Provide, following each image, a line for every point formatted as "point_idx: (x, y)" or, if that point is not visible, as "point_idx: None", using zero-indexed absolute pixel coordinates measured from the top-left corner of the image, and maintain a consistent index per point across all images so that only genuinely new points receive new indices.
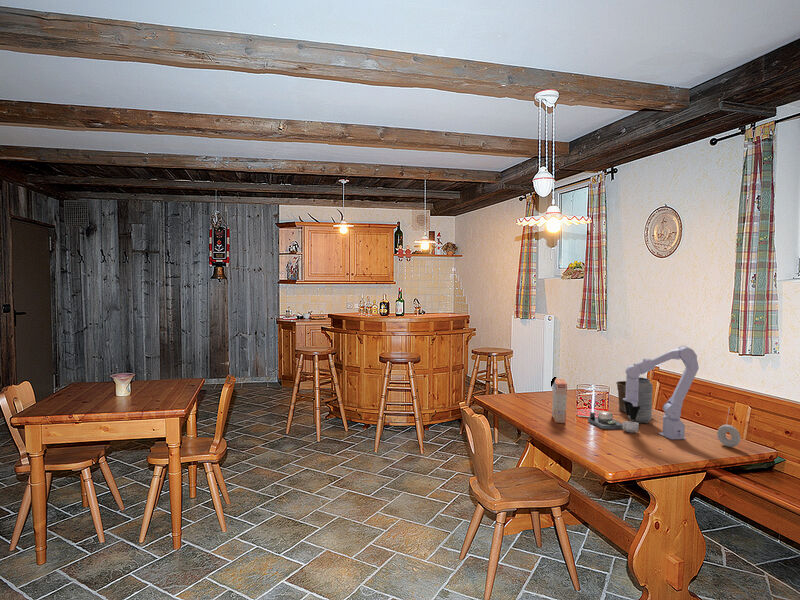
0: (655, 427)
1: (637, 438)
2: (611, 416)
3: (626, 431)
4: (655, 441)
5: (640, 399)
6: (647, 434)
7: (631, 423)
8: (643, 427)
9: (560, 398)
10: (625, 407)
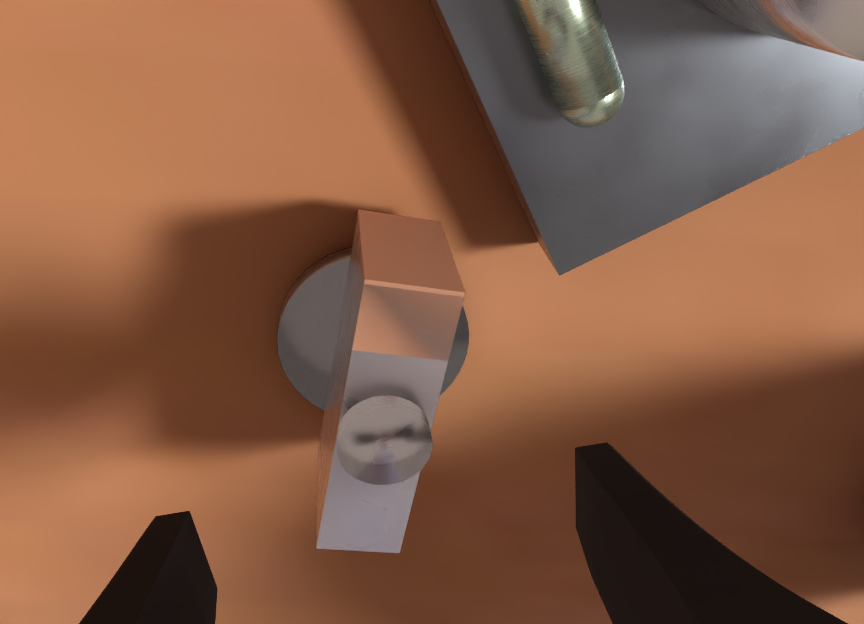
0: None
1: (6, 404)
2: (786, 21)
3: (311, 267)
4: (7, 599)
5: None
6: None
7: (335, 436)
8: (705, 494)
9: None
10: (734, 568)
